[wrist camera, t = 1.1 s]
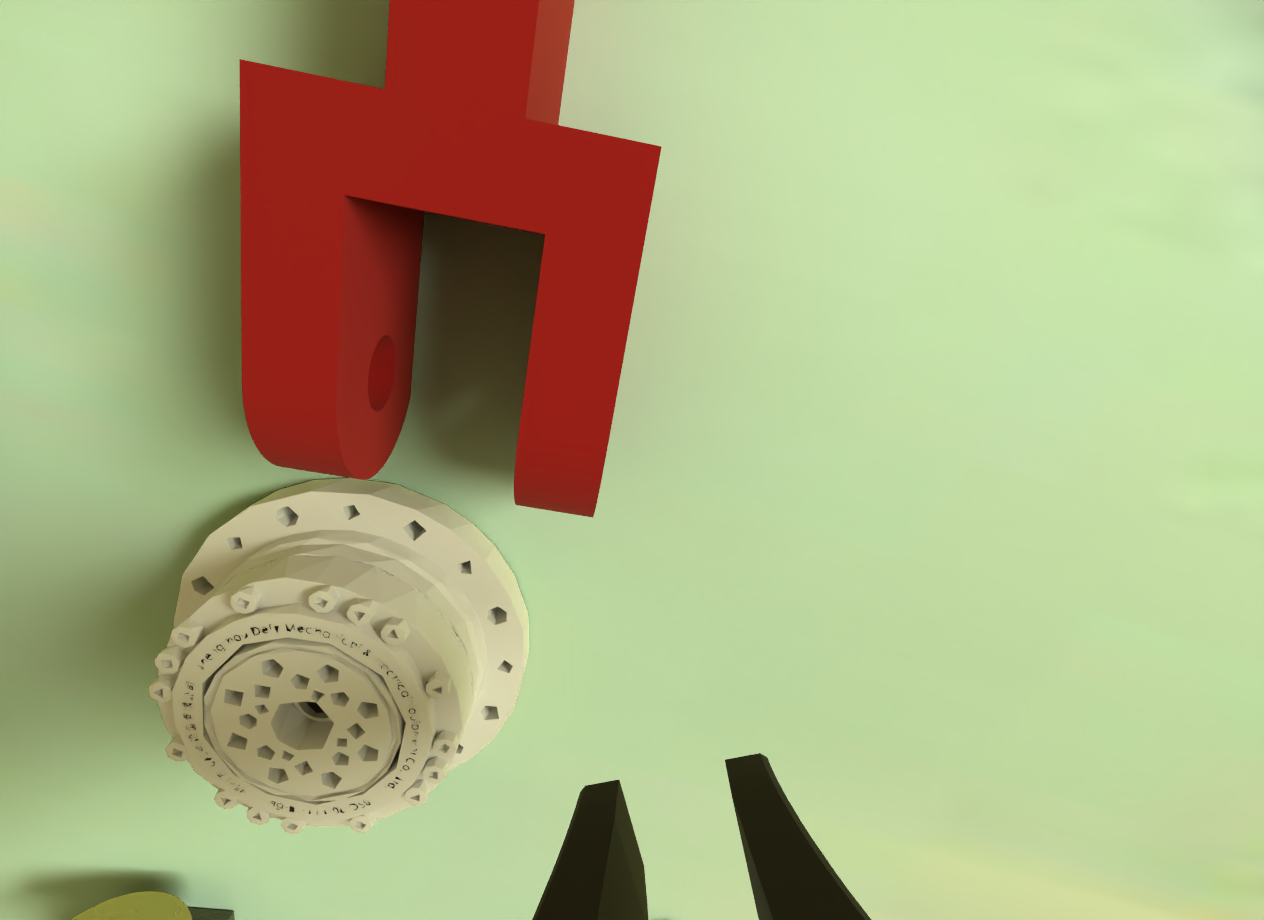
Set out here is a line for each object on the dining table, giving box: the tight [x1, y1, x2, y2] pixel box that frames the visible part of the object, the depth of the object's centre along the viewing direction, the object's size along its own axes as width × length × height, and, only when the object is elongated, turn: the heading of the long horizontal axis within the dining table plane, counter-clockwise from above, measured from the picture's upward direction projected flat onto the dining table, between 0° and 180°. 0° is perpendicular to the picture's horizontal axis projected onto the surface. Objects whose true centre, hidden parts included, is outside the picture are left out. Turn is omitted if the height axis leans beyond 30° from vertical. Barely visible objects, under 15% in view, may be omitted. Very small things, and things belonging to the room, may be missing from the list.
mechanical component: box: [148, 478, 530, 834], centre depth 17 cm, size 10×4×10 cm
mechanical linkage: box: [240, 0, 661, 517], centre depth 13 cm, size 16×7×5 cm, turn 170°
